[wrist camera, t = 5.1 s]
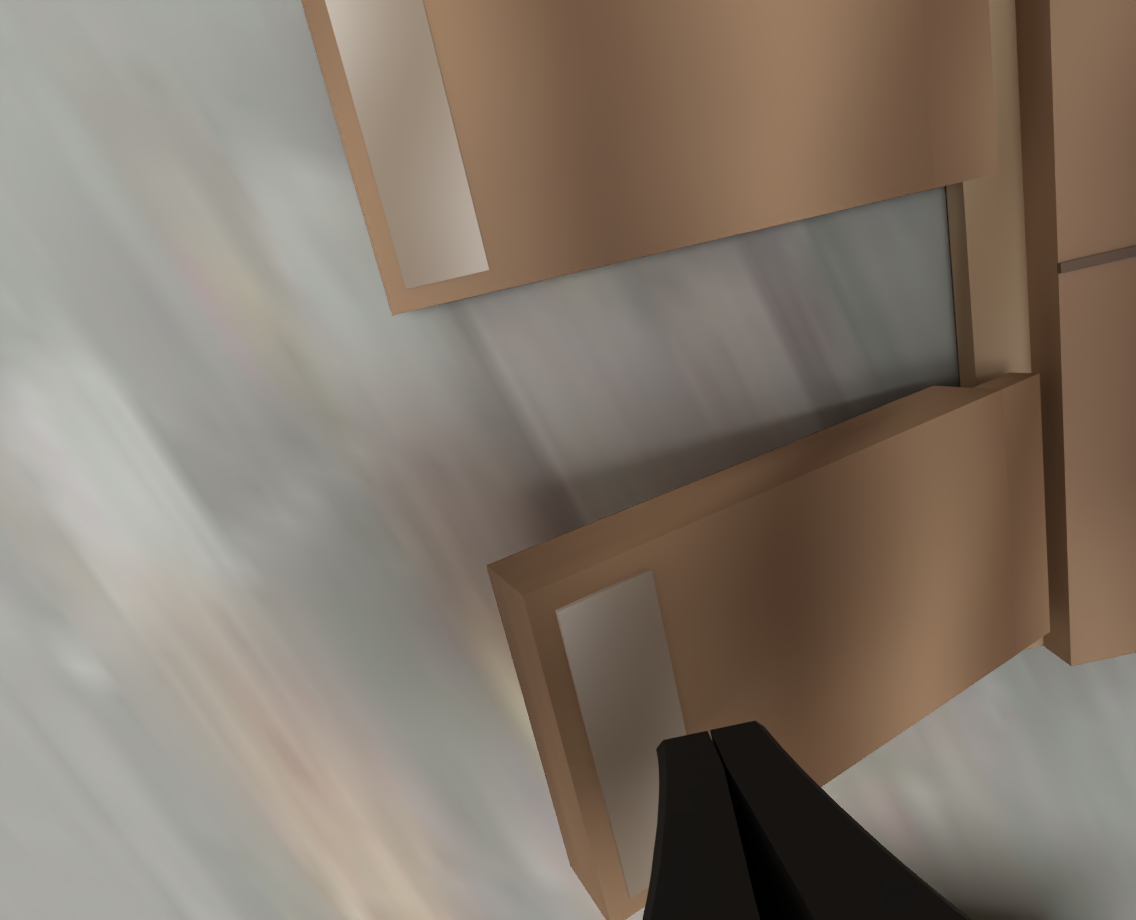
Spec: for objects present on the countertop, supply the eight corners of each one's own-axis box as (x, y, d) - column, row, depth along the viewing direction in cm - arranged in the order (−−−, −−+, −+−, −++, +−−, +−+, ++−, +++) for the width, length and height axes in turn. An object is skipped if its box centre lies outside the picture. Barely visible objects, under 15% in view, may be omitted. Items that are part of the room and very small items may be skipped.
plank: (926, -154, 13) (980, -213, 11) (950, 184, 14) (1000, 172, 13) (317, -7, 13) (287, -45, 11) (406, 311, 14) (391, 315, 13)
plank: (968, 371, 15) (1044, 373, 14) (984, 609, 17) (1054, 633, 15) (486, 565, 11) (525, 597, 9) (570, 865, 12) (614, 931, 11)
